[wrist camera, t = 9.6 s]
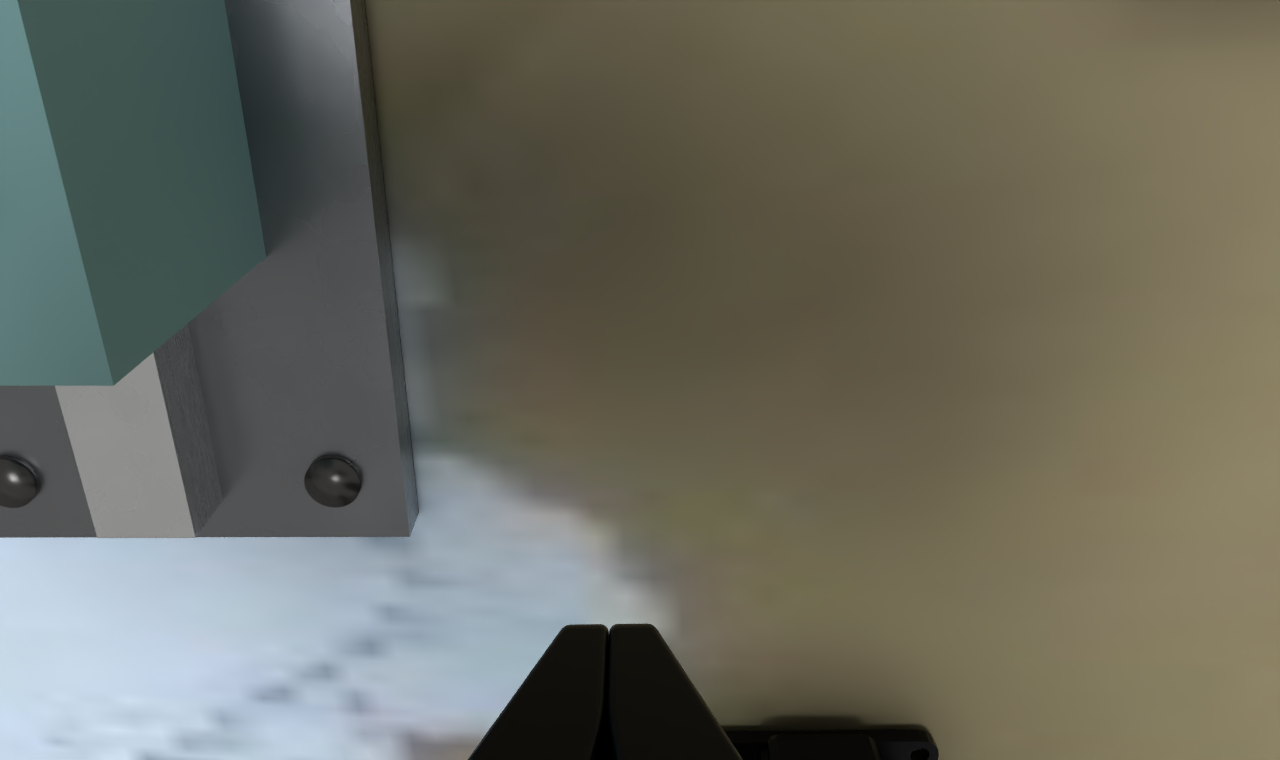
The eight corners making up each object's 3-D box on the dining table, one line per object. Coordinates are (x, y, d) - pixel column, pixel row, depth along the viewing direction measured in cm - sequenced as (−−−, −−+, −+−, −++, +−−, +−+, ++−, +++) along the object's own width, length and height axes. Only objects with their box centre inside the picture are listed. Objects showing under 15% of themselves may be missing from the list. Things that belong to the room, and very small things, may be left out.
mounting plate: (418, 512, 22) (395, 576, 20) (-11, 513, 22) (-85, 578, 19) (296, -650, 14) (230, -771, 11) (-404, -666, 13) (-615, -795, 11)
